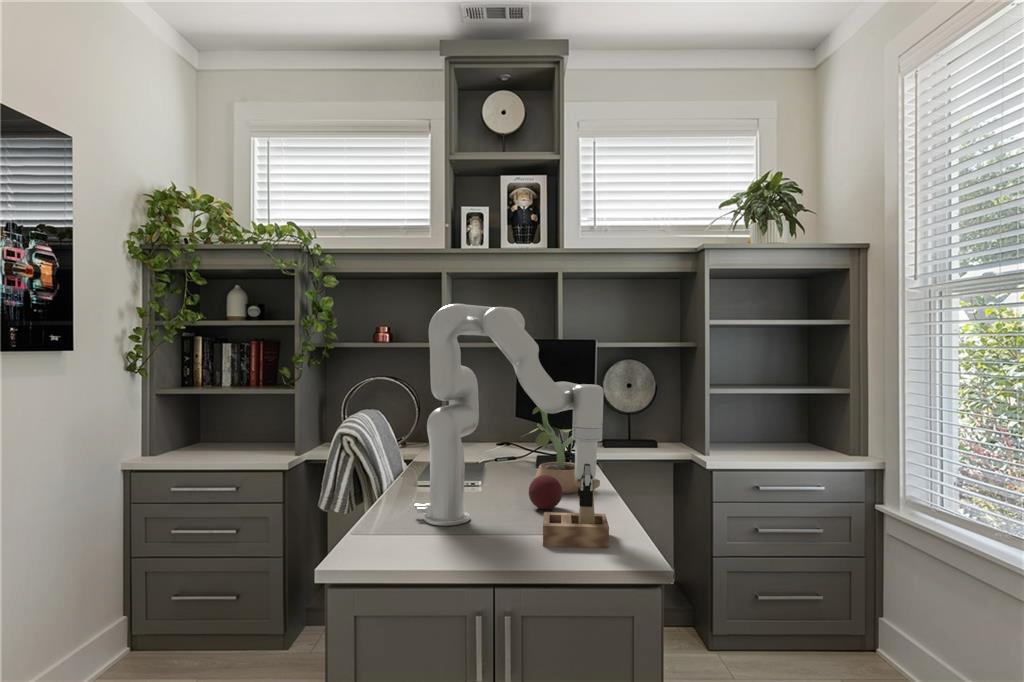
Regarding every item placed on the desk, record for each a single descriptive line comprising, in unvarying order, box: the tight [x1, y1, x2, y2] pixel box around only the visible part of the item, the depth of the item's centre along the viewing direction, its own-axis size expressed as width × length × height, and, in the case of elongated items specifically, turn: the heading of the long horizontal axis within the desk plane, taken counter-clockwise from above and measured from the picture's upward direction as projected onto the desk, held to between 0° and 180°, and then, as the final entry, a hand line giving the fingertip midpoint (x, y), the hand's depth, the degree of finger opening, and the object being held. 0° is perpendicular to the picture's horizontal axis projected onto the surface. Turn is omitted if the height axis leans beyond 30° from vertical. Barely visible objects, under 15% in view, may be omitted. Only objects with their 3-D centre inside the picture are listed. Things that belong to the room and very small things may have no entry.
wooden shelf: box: [542, 511, 610, 549], centre depth 164 cm, size 16×12×5 cm
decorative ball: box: [528, 475, 563, 511], centre depth 192 cm, size 10×10×10 cm
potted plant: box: [517, 405, 578, 495], centre depth 219 cm, size 22×18×30 cm
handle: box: [575, 478, 601, 524], centre depth 163 cm, size 5×6×15 cm
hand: (585, 501), depth 164 cm, fingers open, 9 cm apart
